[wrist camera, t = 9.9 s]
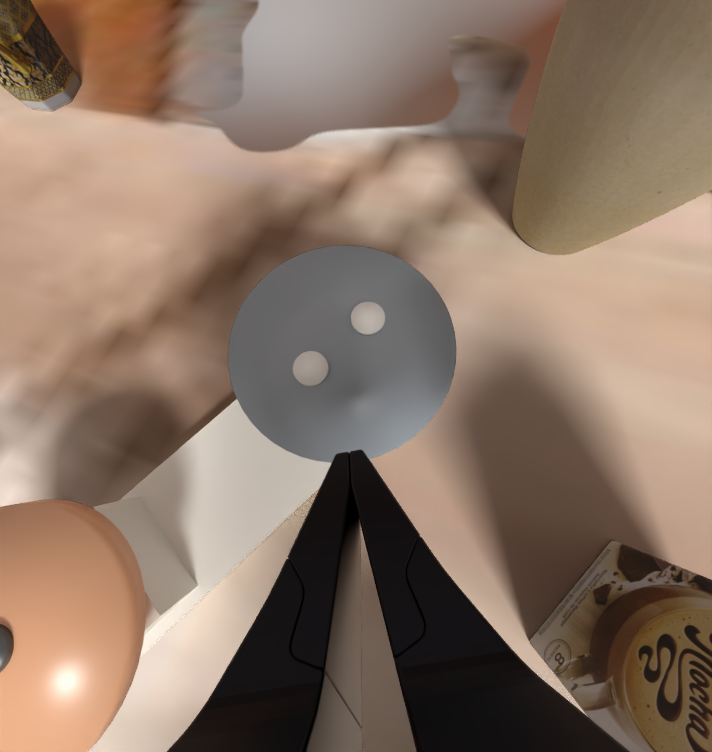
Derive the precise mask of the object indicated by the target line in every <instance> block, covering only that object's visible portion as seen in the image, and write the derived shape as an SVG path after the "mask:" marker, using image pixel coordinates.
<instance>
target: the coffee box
mask: <svg viewBox="0 0 712 752" xmlns="http://www.w3.org/2000/svg"><path fill="white" fill-rule="evenodd" d="M530 644H531V645H532V646H533V648H534V649H535V650H536V651H537V653H538V654H539V655H540V657H541V658H542V659H543V660H544V661H545V663H546V664H547V665H548V666H549V668H550V669H551V670H552V671H553V672H554V674H555V675H556V676H557V678H558V679H559V680H560V681H561V683H562V684H563V685H564V686H565V688H566V689H567V690H568V692H569V693H570V694H571V695H572V697H573V698H574V699H575V701H576V702H577V703H578V705H579V706H580V707H581V708H582V710H583V711H584V712H585V713H586V715H587V716H588V717H589V718H590V719H591V720H592V721H594V722H595V723H596V724H597V725H598V726H600V727H601V728H602V729H603V730H604V731H606V732H607V733H608V734H609V735H611V736H612V737H613V738H614V739H615V740H617V741H618V742H619V743H620V744H622V745H623V746H624V747H625V748H626V749H628V750H629V751H630V752H712V580H711V579H708V578H706V577H703V576H701V575H698V574H696V573H693V572H691V571H688V570H686V569H683V568H681V567H679V566H676V565H673V564H671V563H668V562H666V561H663V560H661V559H658V558H656V557H653V556H651V555H648V554H646V553H643V552H641V551H638V550H636V549H633V548H631V547H629V546H626V545H624V544H621V543H619V542H617V541H611V542H610V543H609V544H608V545H607V547H606V548H605V549H604V550H603V552H602V553H601V554H600V555H599V557H598V558H597V559H596V560H595V562H594V563H593V564H592V565H591V566H590V568H589V569H588V570H587V571H586V572H585V574H584V575H583V576H582V577H581V579H580V580H579V581H578V582H577V583H576V585H575V586H574V587H573V588H572V590H571V591H570V592H569V593H568V594H567V596H566V597H565V598H564V599H563V601H562V602H561V603H560V604H559V605H558V607H557V608H556V609H555V610H554V612H553V613H552V614H551V615H550V616H549V618H548V619H547V620H546V621H545V622H544V624H543V625H542V626H541V627H540V629H539V630H538V631H537V632H536V633H535V635H534V636H533V637H532V638H531V640H530Z"/></svg>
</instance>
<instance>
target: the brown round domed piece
mask: <svg viewBox="0 0 712 752" xmlns="http://www.w3.org/2000/svg"><path fill="white" fill-rule="evenodd" d="M145 625H146V601H145V591H144V584H143V580H142V575H141V570H140V568H139V565H138V562H137V559H136V556H135V554H134V552H133V550H132V548H131V546H130V545H129V543H128V541H127V540H126V538H125V537H124V535H123V534H122V533H121V531H120V530H119V529H118V528H117V527H116V526H115V525H114V524H113V523H112V522H111V521H110V520H109V519H108V518H107V517H105V516H104V515H102V514H101V513H100V512H98V511H96V510H94V509H92V508H90V507H88V506H86V505H83V504H80V503H77V502H73V501H67V500H60V499H53V500H39V501H33V502H27V503H21V504H15V505H9V506H3V507H0V752H88V751H89V750H90V749H91V748H92V747H93V745H94V744H95V743H96V742H97V741H98V740H99V739H100V737H101V736H102V735H103V733H104V732H105V731H106V729H107V728H108V726H109V725H110V724H111V722H112V721H113V719H114V717H115V716H116V714H117V712H118V710H119V709H120V707H121V705H122V704H123V701H124V699H125V697H126V695H127V693H128V691H129V688H130V686H131V684H132V681H133V678H134V675H135V672H136V669H137V667H138V663H139V659H140V655H141V651H142V646H143V640H144V632H145Z"/></svg>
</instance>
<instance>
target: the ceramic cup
mask: <svg viewBox="0 0 712 752" xmlns="http://www.w3.org/2000/svg"><path fill="white" fill-rule="evenodd" d="M0 85H1V86H2V87H4V88H5V89H6V90H7V91H8V92H10V93H11V94H12V95H13V96H15V97H16V98H17V99H19V100H20V101H21V102H22V103H24V104H25V105H26V106H27V107H29V108H31V109H35V110H44V111H54V110H56V109H58V108H60V107H62V106H64V105H66V104H68V103H70V102H72V100H73V99H74V97H75V95H76V93H77V91H78V89H79V88H80V86H81V83H80V80H79V78H78V76H77V75H76V73H75V71H74V70H73V68H72V66H71V65H70V63H69V62H68V60H67V58H66V57H65V55H64V54H63V52H62V51H61V49H60V48H59V46H58V45H57V43H56V41H55V40H54V38H53V37H52V35H51V34H50V32H49V30H48V29H47V27H46V26H45V24H44V22H43V21H42V19H41V18H40V16H39V15H38V13H37V11H36V10H35V8H34V6H33V4H32V2H31V1H30V0H0Z"/></svg>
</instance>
